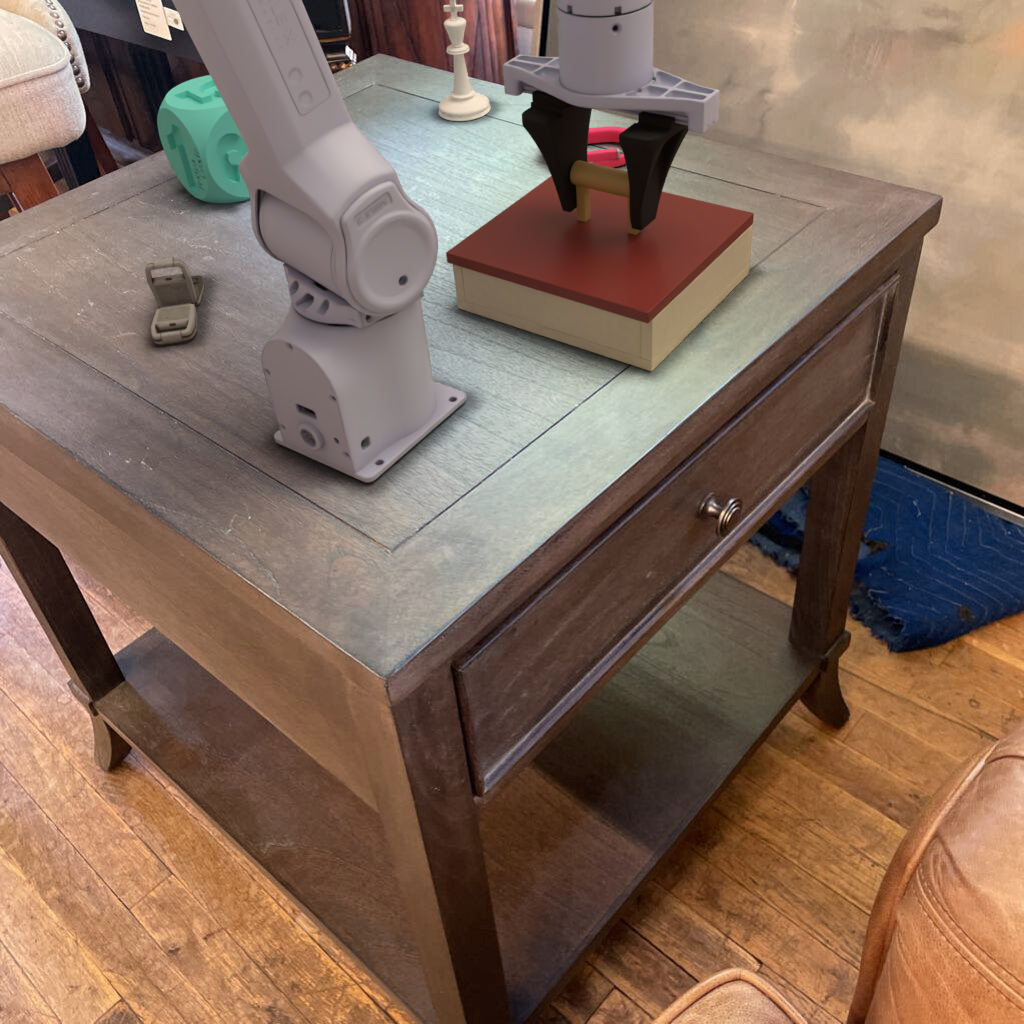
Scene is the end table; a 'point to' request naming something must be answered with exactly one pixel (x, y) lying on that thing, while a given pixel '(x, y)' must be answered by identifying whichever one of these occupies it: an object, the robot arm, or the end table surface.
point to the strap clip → (174, 302)
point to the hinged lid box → (601, 327)
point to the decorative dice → (202, 142)
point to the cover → (602, 244)
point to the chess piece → (460, 74)
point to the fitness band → (607, 155)
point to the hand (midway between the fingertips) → (609, 214)
